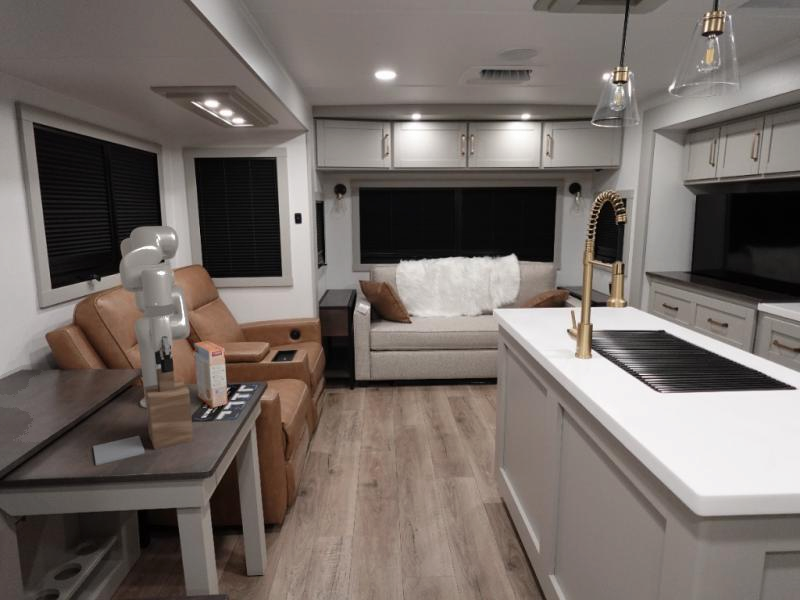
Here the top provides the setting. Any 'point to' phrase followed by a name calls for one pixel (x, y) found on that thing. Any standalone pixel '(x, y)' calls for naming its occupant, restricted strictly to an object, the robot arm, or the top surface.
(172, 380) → the walnut cover
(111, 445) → the slate mat
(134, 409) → the top surface
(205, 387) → the cracker box
